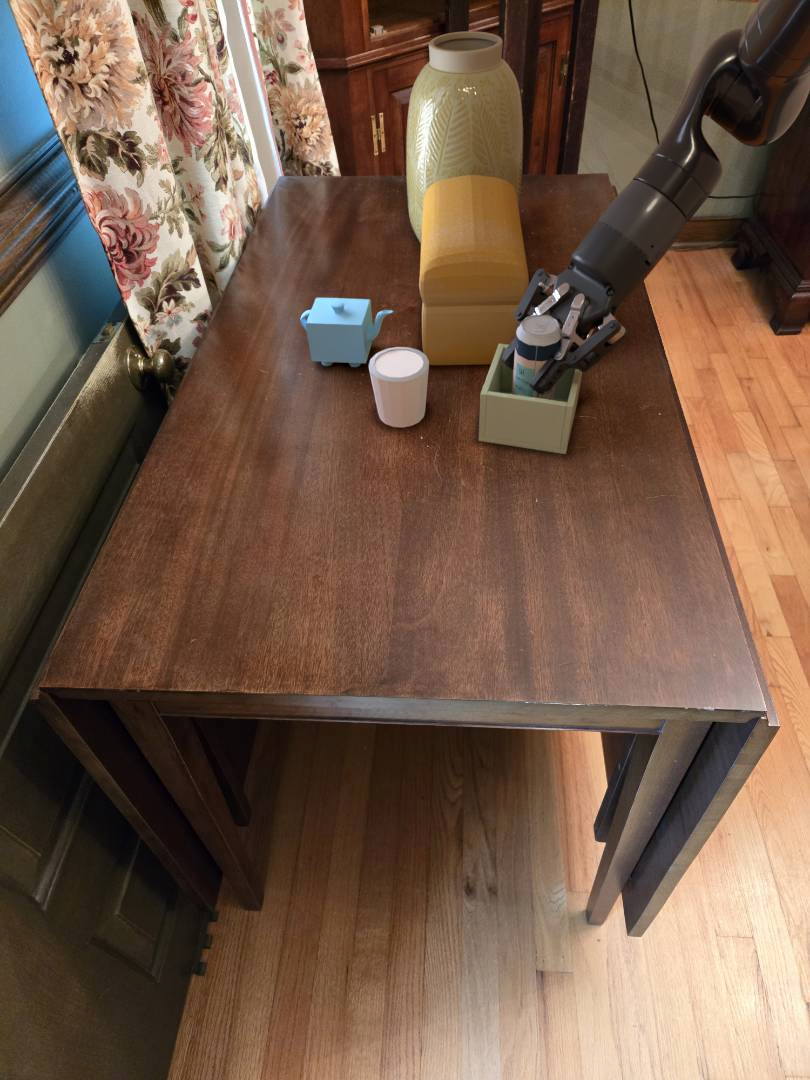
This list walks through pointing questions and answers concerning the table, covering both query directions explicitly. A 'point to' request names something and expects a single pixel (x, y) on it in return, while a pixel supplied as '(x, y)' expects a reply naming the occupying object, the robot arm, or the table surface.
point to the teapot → (341, 330)
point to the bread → (470, 269)
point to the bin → (526, 410)
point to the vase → (463, 118)
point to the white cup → (400, 385)
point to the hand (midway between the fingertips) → (521, 377)
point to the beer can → (534, 353)
